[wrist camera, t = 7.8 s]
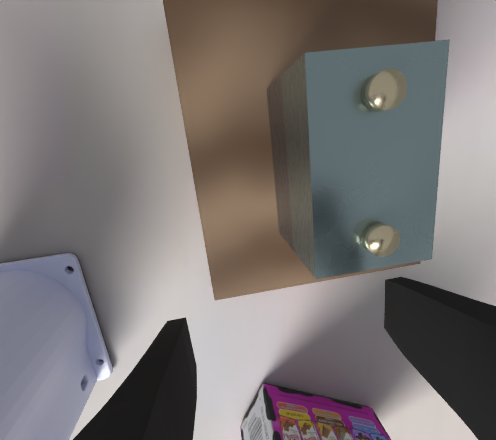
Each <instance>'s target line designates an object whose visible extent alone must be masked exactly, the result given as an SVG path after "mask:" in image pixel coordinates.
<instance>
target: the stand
mask: <svg viewBox="0 0 496 440" xmlns="http://www.w3.org/2000/svg"><path fill="white" fill-rule="evenodd" d="M437 1H438V0H163V4H164V10H165V16H166V21H167V27H168V33H169V39H170V45H171V50H172V56H173V62H174V68H175V73H176V79H177V85H178V91H179V97H180V102H181V108H182V114H183V120H184V125H185V131H186V137H187V143H188V149H189V154H190V160H191V166H192V172H193V177H194V183H195V189H196V195H197V201H198V206H199V212H200V218H201V224H202V229H203V235H204V241H205V247H206V253H207V258H208V264H209V270H210V276H211V281H212V287H213V293H214V299H215V300H219V299H225V298H231V297H236V296H242V295H247V294H253V293H258V292H264V291H270V290H275V289H281V288H286V287H292V286H297V285H303V284H308V283H314V282H320V281H325V280H331V279H336V278H342V277H347V276H353V275H358V274H364V273H370V272H375V271H381V270H386V269H392V268H397V267H403V266H408V265H414V264H420V262H421V261H418V262H412V263H407V264H401V265H395V266H390V267H384V268H378V269H372V270H367V271H361V272H355V273H350V274H344V275H338V276H333V277H327V278H321V279H315V277H314V276H313V275H312V274H311V272H310V271H309V270H308V269H307V267H306V266H305V265H304V264H303V262H302V261H301V260H300V258H299V257H298V256H297V255H296V253H295V252H294V251H293V250H292V248H291V247H290V246H289V245H288V243H287V242H286V241H285V240H284V238H283V237H282V236H281V235H280V233H279V226H278V215H277V204H276V192H275V181H274V169H273V158H272V146H271V135H270V123H269V112H268V100H267V88H268V87H269V86H270V85H271V84H272V83H273V82H274V81H275V80H276V79H278V78H279V77H280V76H281V75H282V74H283V73H284V72H285V71H286V70H287V69H288V68H289V67H290V66H291V65H292V64H293V63H294V62H296V61H297V60H298V59H299V58H300V57H301V56H302V55H303V54H304V53H307V52H318V51H329V50H340V49H352V48H363V47H374V46H385V45H396V44H408V43H419V42H430V41H435V32H436V17H437Z"/></svg>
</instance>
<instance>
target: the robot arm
mask: <svg viewBox="0 0 496 440" xmlns="http://www.w3.org/2000/svg"><path fill="white" fill-rule="evenodd" d="M68 266H70V267H72V268H73V269H74V271H70V270H69V269H68ZM384 328H385V329H386V331H387V332H388V334H389V335H390V337H391V338H392V340H393V341H394V343H395V344H396V345H397V347H398V348H399V349H400V351H401V352H402V354H403V355H404V356H405V357H406V358H407V359H408V360H409V362H410V363H411V364H412V365H413V366H414V367H415V368H416V369H417V370H418V372H419V373H420V374H421V375H422V376H423V377H424V378H425V379H426V380H427V381H428V383H429V384H430V385H431V386H432V387H433V388H434V389H435V390H436V391H437V392H438V394H439V395H440V396H441V397H442V398H443V399H444V400H445V401H446V402H447V403H448V405H449V406H450V407H451V408H452V409H453V410H454V411H455V412H456V413H457V414H458V416H459V417H460V418H461V419H462V420H463V421H464V423H465V424H466V425H467V426H468V427H469V429H470V430H471V431H472V432H473V433H474V435H475V436H476V437H477V439H478V440H496V306H493V305H490V304H486V303H483V302H480V301H477V300H474V299H470V298H467V297H464V296H461V295H458V294H455V293H452V292H449V291H446V290H443V289H440V288H437V287H434V286H431V285H428V284H425V283H421V282H418V281H415V280H411V279H408V278H403V277H398V278H393V279H388V280H385V318H384ZM98 359H102V360H103V361H100V360H98ZM112 371H113V368H112V365H111V362H110V359H109V355H108V352H107V349H106V346H105V343H104V340H103V337H102V333H101V330H100V327H99V324H98V321H97V318H96V315H95V311H94V308H93V305H92V302H91V299H90V296H89V293H88V289H87V286H86V283H85V280H84V277H83V274H82V271H81V267H80V264H79V261H78V259H77V257H76V256H75V255H74V254H71V253H64V254H58V255H51V256H45V257H39V258H32V259H26V260H19V261H13V262H6V263H0V440H69V438H70V436H71V434H72V432H73V430H74V428H75V425H76V423H77V421H78V419H79V417H80V415H81V413H82V411H83V409H84V406H85V404H86V402H87V400H88V398H89V396H90V394H91V392H92V389H93V387H94V385H95V383H96V381H98V380H103V379H107V378H109V377H110V376H111V374H112ZM196 400H197V371H196V362H195V358H194V353H193V348H192V344H191V339H190V335H189V330H188V325H187V321H186V318H181V319H176V320H171V321H167V323H166V324H165V325H164V327H163V328H162V329H161V331H160V332H159V334H158V335H157V337H156V338H155V340H154V341H153V343H152V344H151V345H150V347H149V348H148V350H147V351H146V353H145V354H144V355H143V357H142V358H141V359H140V361H139V362H138V364H137V365H136V366H135V368H134V369H133V370H132V372H131V373H130V374H129V376H128V377H127V378H126V379H125V381H124V382H123V383H122V384H121V386H120V387H119V388H118V389H117V391H116V392H115V393H114V394H113V396H112V397H111V398H110V399H109V401H108V402H107V403H106V404H105V405H104V406H103V407H102V409H101V410H100V411H99V412H98V413H97V414H96V415H95V416H94V418H93V419H92V420H91V421H90V422H89V423H88V424H87V425H86V426H85V427H84V428H83V429H82V430H81V432H80V433H79V434H78V435H77V436H76V437H75V438H74V439H73V440H193V431H194V421H195V411H196Z"/></svg>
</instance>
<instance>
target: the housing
mask: <svg viewBox="0 0 496 440" xmlns="http://www.w3.org/2000/svg"><path fill="white" fill-rule="evenodd" d="M448 51H449V40H441V41H430V42H419V43H408V44H396V45H385V46H374V47H363V48H352V49H340V50H329V51H318V52H307V53H304V54H303V55H302V56H301V57H300V58H299V59H298V60H297V61H296V62H294V63H293V64H292V65H291V66H290V67H289V68H288V69H287V70H286V71H285V72H284V73H283V74H282V75H281V76H280V77H279V78H278V79H276V80H275V81H274V82H273V83H272V84H271V85H270V86H269V87H268V88H267V100H268V112H269V123H270V135H271V146H272V158H273V169H274V181H275V192H276V204H277V215H278V226H279V233H280V235H281V236H282V237H283V238H284V240H285V241H286V242H287V243H288V245H289V246H290V247H291V248H292V250H293V251H294V252H295V253H296V255H297V256H298V257H299V258H300V260H301V261H302V262H303V264H304V265H305V266H306V267H307V269H308V270H309V271H310V272H311V274H312V275H313V276H314V277H315V279H321V278H327V277H333V276H338V275H344V274H350V273H355V272H361V271H367V270H372V269H378V268H384V267H390V266H395V265H401V264H407V263H412V262H418V261H424V260H429V259H432V250H433V237H434V225H435V212H436V200H437V187H438V175H439V163H440V150H441V138H442V125H443V113H444V101H445V88H446V76H447V63H448Z"/></svg>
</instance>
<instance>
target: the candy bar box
mask: <svg viewBox="0 0 496 440" xmlns="http://www.w3.org/2000/svg"><path fill="white" fill-rule="evenodd" d="M241 437H242V440H391V439H390V437H389V435H388V434H387V432H386V431H385V429H384V427H383V426H382V424H381V422H380V421H379V419H378V418H377V416H376V414H375V413H374V411H373V409H372V408H369V407H366V406H362V405H357V404H353V403H349V402H344V401H339V400H335V399H330V398H326V397H321V396H316V395H312V394H307V393H303V392H298V391H293V390H289V389H285V388H280V387H276V386H272V385H267V384H262V385H261V387H260V389H259V391H258V393H257V395H256V397H255V399H254V401H253V403H252V405H251V406H250V408H249V410H248V412H247V413H246V415H245V417H244V420H243V422H242V424H241Z"/></svg>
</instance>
